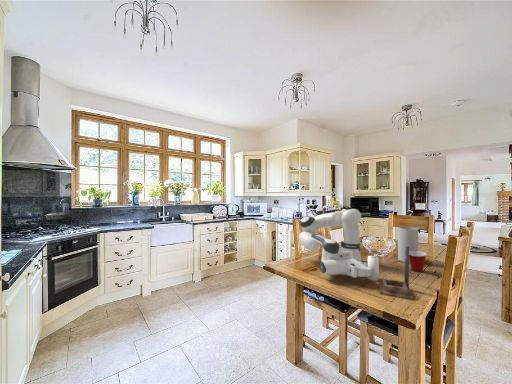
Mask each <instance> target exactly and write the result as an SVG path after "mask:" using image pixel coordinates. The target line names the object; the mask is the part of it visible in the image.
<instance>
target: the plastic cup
mask: <svg viewBox="0 0 512 384" xmlns="http://www.w3.org/2000/svg"><path fill="white" fill-rule="evenodd" d="M427 255H428V254H427V253H426V252H424V251H420V250H418V251H409V260H410V263H409V266H410V268H411V271H413V272H414V273H415V272H416V273H423V270H424V266H425V261H426V257H427Z"/></svg>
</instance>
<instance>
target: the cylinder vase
mask: <svg viewBox="0 0 512 384" xmlns="http://www.w3.org/2000/svg"><path fill="white" fill-rule="evenodd" d="M397 229H398V230H397V232H398V233H397V234H398V235H397V239H398V240H397V244H398V245H397V250H398V251H397V259H398V261H400V262H403V263H405V246H408V247H409V251H419V228H418V227H415V226H414V227H412V226H398V228H397ZM409 264H410V260H409Z"/></svg>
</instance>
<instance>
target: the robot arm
mask: <svg viewBox="0 0 512 384" xmlns="http://www.w3.org/2000/svg"><path fill="white" fill-rule="evenodd" d="M361 219H362V214H361V212H360V211H359V209H356V208H349V209H345V210H338V211H333V212H328V213H327V212H326V213H322V214H318V215H315V216H314V217H313V216H308V215H307V216H303V217H302V218H301V219H300V220H299V225H300V227H301V232H300V233H299V235H298V241H299V243H300V244H301V245H302V246H303V247H304V248H305V249H306V250H307V251H308V252H309V251H310V252H314V251H315V252H316V251H317V250H318V249H319V248H320V246H322V250H321V260H320V261H319V265H318V266H319V270H320V272H321V273H322V274H323V275H327V276H328V275H330V276H331V275H332V276H337V275H341V276H342V275H343V276H349V277H352V278H357V277H360V278H361V277H363V278H364V277H368V276H370V275H371V272H375V268H368V262H365V261H364V262H363V261H362V257H361V242H360V240H361V239H360V238H361V237H360V236H361V231H360V228H359V222H360V221H361ZM340 226H342V229H343V240H342V241H340V243H338V241H336V240H335V239H330V238H328V237H326V236H323V235H321V234H320V232H319V229H320V228H321V229H325V228H334V227H340Z"/></svg>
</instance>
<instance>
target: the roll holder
mask: <svg viewBox="0 0 512 384" xmlns="http://www.w3.org/2000/svg"><path fill="white" fill-rule="evenodd" d="M403 275H404V278H403V279H404V281H403V280H397V279H390V278H382V281H378V282H379V283H378V285H379V293H380V295H383V296H390V297H394V298H399V299H407V300H411V301H412V300H414V298H413V297H414V296H413V294H412V291H411V289H410V263H409V247H408V246H405V262H404V274H403Z"/></svg>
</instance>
